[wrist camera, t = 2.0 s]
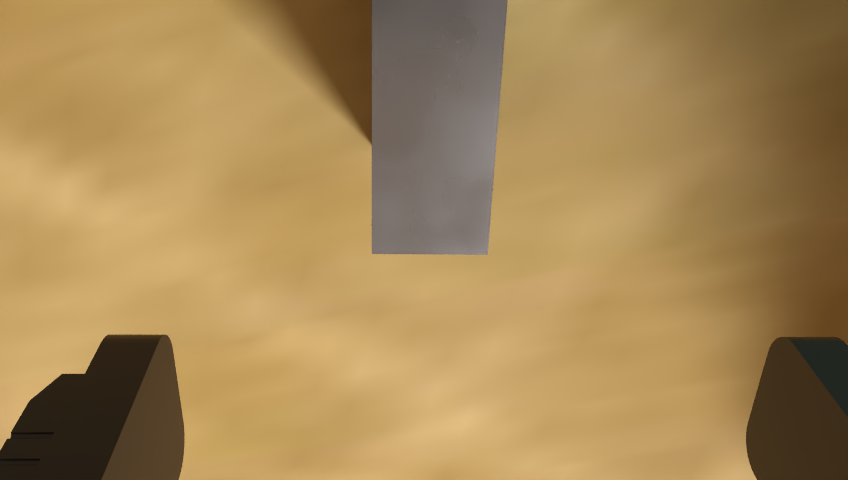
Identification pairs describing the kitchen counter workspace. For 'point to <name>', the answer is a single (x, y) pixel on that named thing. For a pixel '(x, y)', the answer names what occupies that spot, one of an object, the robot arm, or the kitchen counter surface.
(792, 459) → the robot arm
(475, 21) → the brushed metal block
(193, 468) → the kitchen counter surface
